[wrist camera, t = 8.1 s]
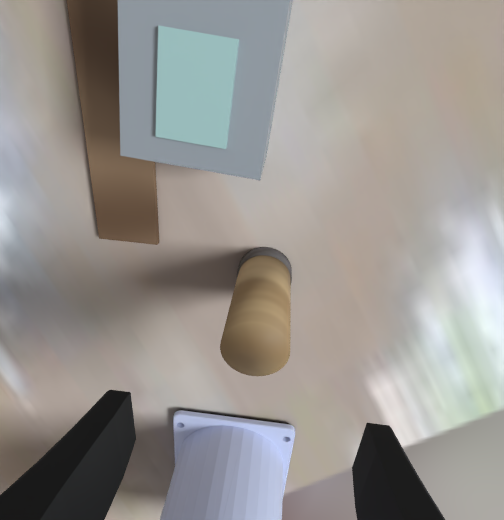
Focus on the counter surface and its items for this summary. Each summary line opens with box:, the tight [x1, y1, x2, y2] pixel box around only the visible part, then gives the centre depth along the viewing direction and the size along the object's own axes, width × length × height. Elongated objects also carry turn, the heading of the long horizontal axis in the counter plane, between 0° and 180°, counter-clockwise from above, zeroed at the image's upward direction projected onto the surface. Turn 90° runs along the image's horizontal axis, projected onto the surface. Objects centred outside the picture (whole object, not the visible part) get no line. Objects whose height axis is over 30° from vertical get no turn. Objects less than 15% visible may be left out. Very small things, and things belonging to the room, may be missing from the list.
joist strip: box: [67, 0, 159, 245], centre depth 15 cm, size 16×3×1 cm, turn 176°
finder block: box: [118, 0, 293, 180], centre depth 13 cm, size 8×5×4 cm, turn 171°
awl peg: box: [220, 247, 292, 376], centre depth 16 cm, size 3×3×6 cm
